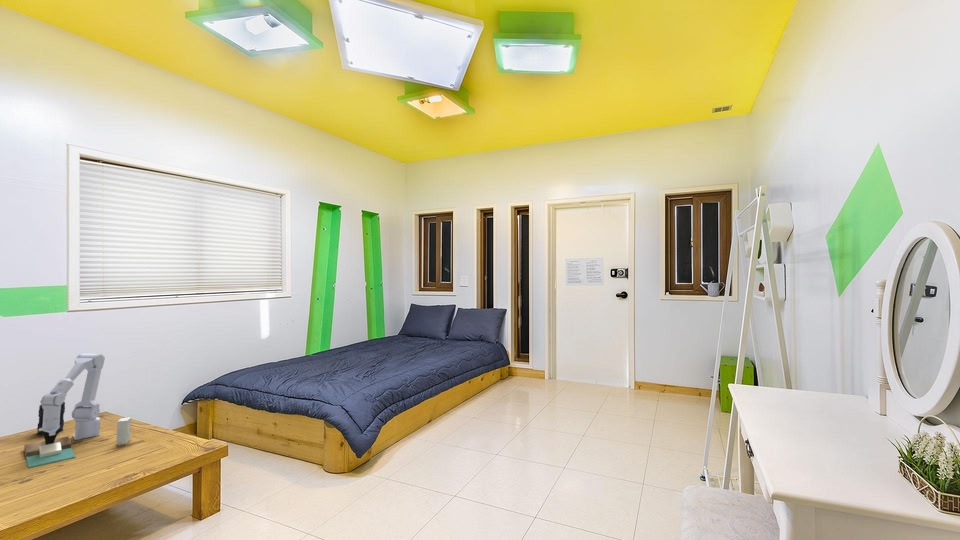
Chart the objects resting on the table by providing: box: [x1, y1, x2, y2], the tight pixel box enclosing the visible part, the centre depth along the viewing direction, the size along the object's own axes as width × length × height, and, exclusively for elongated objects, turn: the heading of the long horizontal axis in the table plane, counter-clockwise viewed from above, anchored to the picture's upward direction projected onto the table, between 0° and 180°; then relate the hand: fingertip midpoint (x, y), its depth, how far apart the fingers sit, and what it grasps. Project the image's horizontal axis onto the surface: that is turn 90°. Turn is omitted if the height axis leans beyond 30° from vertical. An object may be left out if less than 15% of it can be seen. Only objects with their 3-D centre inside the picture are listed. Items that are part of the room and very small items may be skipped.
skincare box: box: [115, 416, 132, 446], centre depth 212 cm, size 6×4×12 cm
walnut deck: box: [23, 436, 72, 458], centre depth 200 cm, size 15×12×2 cm
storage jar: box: [36, 401, 66, 437], centre depth 219 cm, size 10×10×15 cm
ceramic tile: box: [39, 442, 62, 458], centre depth 194 cm, size 7×6×2 cm
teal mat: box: [25, 447, 76, 469], centre depth 191 cm, size 15×14×1 cm
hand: (49, 446), depth 196 cm, fingers closed
